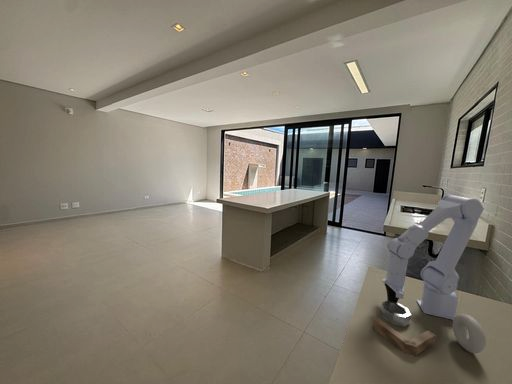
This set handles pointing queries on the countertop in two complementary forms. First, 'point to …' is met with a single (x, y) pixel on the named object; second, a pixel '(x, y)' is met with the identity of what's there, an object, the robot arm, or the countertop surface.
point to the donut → (476, 333)
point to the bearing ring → (395, 313)
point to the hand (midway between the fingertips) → (391, 304)
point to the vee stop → (400, 341)
